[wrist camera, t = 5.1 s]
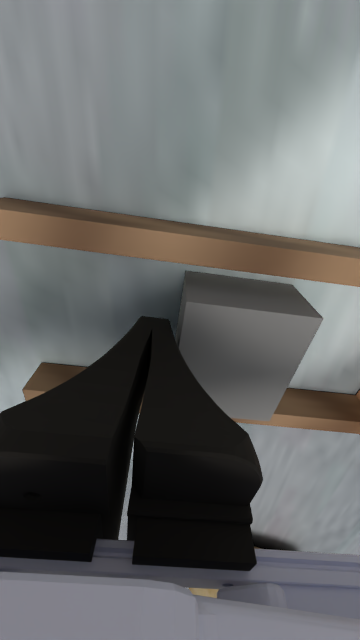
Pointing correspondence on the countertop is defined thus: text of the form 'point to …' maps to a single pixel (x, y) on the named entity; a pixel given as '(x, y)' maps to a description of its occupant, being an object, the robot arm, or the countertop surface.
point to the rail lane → (203, 250)
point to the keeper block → (243, 339)
